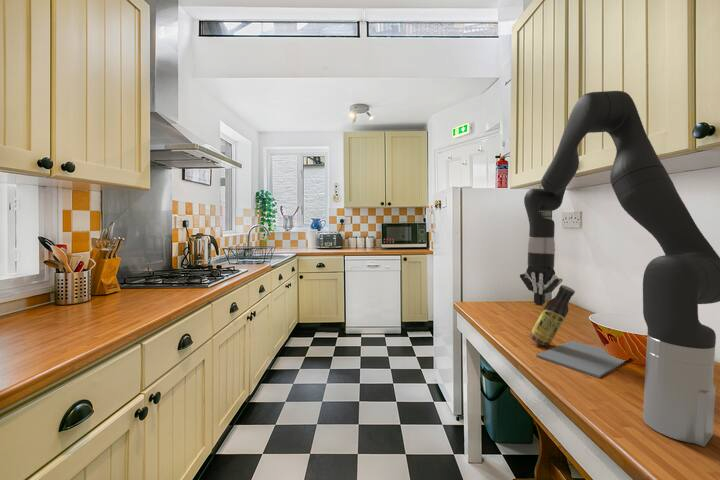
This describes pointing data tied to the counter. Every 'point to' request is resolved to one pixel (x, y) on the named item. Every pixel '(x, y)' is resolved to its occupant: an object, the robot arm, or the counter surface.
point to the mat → (582, 358)
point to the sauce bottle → (552, 317)
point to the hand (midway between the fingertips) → (539, 305)
